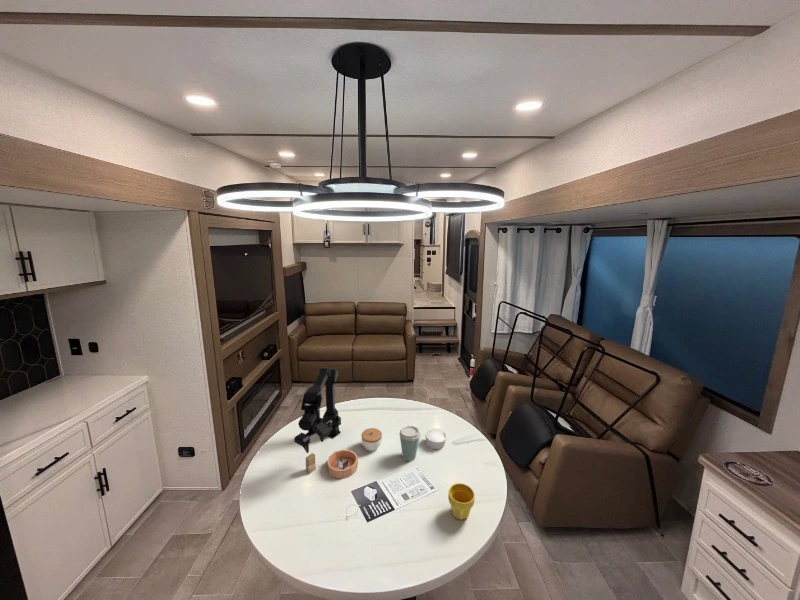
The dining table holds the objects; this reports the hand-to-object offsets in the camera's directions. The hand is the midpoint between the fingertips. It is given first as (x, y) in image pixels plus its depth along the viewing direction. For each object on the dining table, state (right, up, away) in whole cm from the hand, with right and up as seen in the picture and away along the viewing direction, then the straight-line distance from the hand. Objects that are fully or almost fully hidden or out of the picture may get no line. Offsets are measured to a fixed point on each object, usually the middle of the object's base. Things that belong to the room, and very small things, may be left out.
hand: (314, 446), depth 147 cm
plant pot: (+64, -18, -19) cm, 69 cm away
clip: (+12, -12, +5) cm, 18 cm away
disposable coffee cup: (+44, -11, +13) cm, 48 cm away
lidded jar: (+25, -9, +19) cm, 33 cm away
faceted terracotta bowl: (+12, -12, +5) cm, 18 cm away
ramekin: (+59, -9, +23) cm, 64 cm away
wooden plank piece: (-2, -12, +2) cm, 13 cm away
